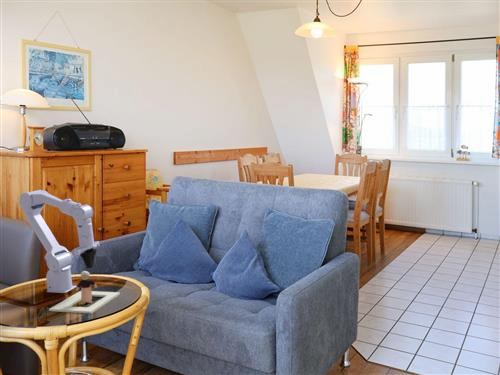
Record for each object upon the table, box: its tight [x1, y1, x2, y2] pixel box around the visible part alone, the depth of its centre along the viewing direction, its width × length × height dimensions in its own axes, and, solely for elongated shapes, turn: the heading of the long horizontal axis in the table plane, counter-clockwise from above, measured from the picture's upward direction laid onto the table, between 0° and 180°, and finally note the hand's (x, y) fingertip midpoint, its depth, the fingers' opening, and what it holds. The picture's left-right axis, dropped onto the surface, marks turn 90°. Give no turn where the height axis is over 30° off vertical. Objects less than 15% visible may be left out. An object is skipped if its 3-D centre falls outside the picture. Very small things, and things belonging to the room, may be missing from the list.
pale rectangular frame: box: [48, 290, 121, 315], centre depth 191 cm, size 18×20×1 cm
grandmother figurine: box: [75, 270, 98, 305], centre depth 189 cm, size 8×4×13 cm, turn 118°
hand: (89, 267), depth 201 cm, fingers closed
